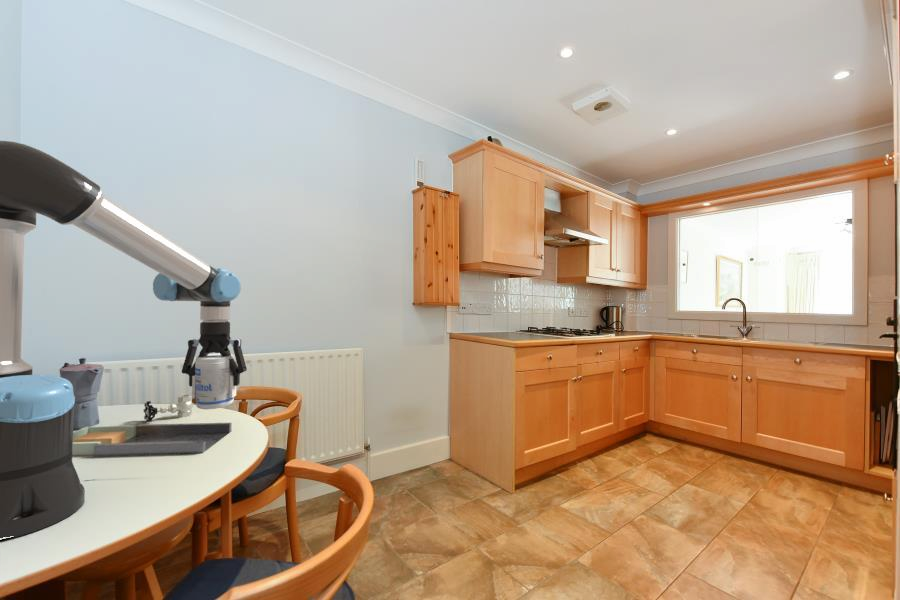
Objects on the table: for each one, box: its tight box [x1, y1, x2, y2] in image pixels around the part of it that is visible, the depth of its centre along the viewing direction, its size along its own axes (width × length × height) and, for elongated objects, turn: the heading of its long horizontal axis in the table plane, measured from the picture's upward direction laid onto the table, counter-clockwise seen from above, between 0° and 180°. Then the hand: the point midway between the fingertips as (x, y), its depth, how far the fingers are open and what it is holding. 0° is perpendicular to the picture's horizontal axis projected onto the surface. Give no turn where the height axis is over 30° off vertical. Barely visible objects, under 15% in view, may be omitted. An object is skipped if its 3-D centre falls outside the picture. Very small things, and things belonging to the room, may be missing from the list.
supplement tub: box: [194, 353, 235, 410], centre depth 112 cm, size 10×10×15 cm
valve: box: [143, 394, 193, 423], centre depth 119 cm, size 7×7×12 cm
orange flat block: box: [93, 431, 126, 444], centre depth 96 cm, size 5×4×2 cm
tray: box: [72, 424, 137, 456], centre depth 96 cm, size 13×12×3 cm
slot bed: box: [92, 422, 233, 458], centre depth 98 cm, size 16×24×3 cm, turn 97°
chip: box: [74, 432, 107, 442], centre depth 96 cm, size 5×4×2 cm
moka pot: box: [59, 357, 105, 432], centre depth 111 cm, size 10×15×20 cm, turn 79°
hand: (214, 397), depth 112 cm, fingers closed on supplement tub, 9 cm apart
